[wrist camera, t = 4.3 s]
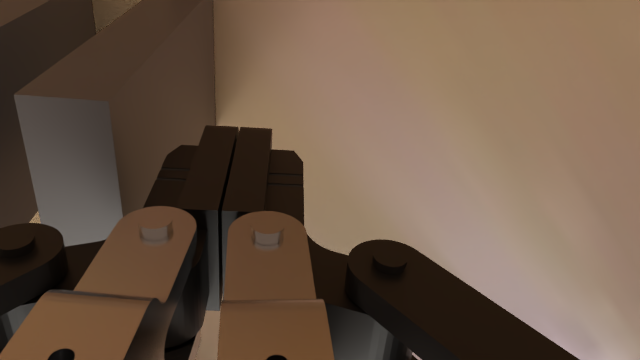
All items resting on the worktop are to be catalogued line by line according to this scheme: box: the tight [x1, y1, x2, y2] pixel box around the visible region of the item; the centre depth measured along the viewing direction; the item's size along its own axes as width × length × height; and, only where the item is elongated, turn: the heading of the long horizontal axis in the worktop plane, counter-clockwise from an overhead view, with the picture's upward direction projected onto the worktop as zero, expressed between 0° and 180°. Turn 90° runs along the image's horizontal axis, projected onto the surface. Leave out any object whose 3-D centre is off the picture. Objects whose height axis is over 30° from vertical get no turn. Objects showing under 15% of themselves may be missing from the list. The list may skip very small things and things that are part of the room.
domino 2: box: [14, 0, 216, 247], centre depth 15 cm, size 2×5×10 cm, turn 176°
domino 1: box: [0, 0, 96, 228], centre depth 15 cm, size 2×5×10 cm, turn 176°
